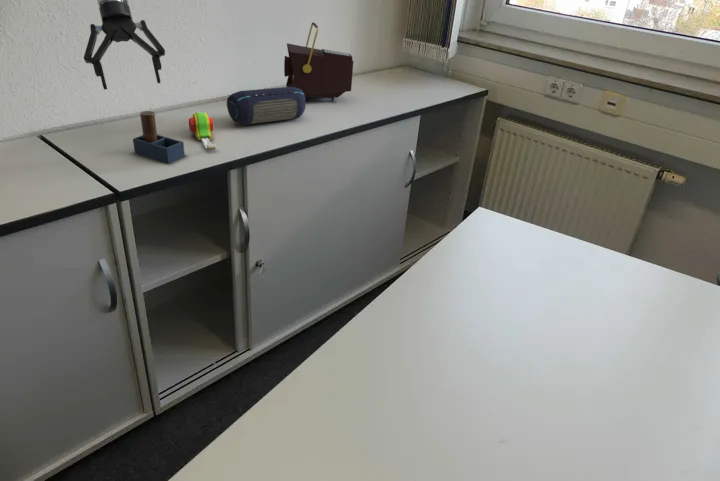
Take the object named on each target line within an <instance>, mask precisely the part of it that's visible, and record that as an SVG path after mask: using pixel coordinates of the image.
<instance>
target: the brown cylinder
mask: <svg viewBox="0 0 720 481" xmlns="http://www.w3.org/2000/svg"><path fill="white" fill-rule="evenodd" d="M139 114H140V115H139V116H140V122H141V123H140V124H141V129H142V135H143V138H144V141H146V142H149V143H151V142H154V141H156V140H158V139H157V135H158V132H157V123H156V115H155V112H154V111H151V110H143V111H140V112H139Z"/></svg>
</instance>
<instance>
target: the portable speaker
mask: <svg viewBox="0 0 720 481" xmlns="http://www.w3.org/2000/svg"><path fill="white" fill-rule="evenodd" d="M306 102H307V101H305V95H304V93H303V91H302V90H301V89H299V88H295V87H286V86H285V87H274V88H273V87H272V88H271V87H270V88H261V89H247V90H239V91H237V92H234V93H231V94H230V95H229V96H228V97H227V99H226V108H227V112H228V115H229V117H230V118H231V120H232V121H233V122H234V123H235V124H238V125H254V124H262V123H270V122H271V123H272V122H278V121H279V122H280V121H288V120H295V119H299V118H300V117H301V116H303V114H304V113H305V110H306V106H307V105H306Z"/></svg>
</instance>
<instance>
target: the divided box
mask: <svg viewBox="0 0 720 481" xmlns="http://www.w3.org/2000/svg"><path fill="white" fill-rule="evenodd" d="M157 139H158V140H156V141H154V142H151V143H149V142H146V141H144V138H143V134H142V135H139V136H136V137H133V138H132V142H133V149H134V154H135V155H137V156H142V157H145V158H148V159H151V160H155V161H157V162H161V163H164V164H168V165H169V164H171V163H173V162H176V161H179V160H180V159H182V158H184V157H185V146H184V141H181V140H178V139H174V138H171V137H168V136H165V135H161V134H157Z"/></svg>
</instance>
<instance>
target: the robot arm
mask: <svg viewBox="0 0 720 481" xmlns="http://www.w3.org/2000/svg"><path fill="white" fill-rule="evenodd" d="M96 1H97V6H98V11H99V14H100V19H101V23H102V24H101V25H95V23H91V24H89V29H90V34H89V38H88V40H87V41H88V42H87V45H86V48H85V51H84V55H83V60H84V62H85V63H86V64H90V65H92V66H93V70H94V75H95V76H96V77H100V80H101V84H102V88H103V90H108V86H107V82H106V78H105V74H104V69H103V65H102V62H101V60H102V58H103V57H104V55H105V53H106V51H107V50H108V48H110V46H111V45H112V43H113V42H116V43H121V42H129V41H130V40H131V41H132V42H133V43H135V44H137V45H138V46H139V47H140V48H142V49H143V50H144V51H146V53H148V54H149V55H150V56H151V62H152V66H153V69H154V70H153V71H154V74H155V78H156V82H157V84H161V77H160V72H159V71H161V70H162V62H161V57H164V56H166V50H165V48H164V47H163V46H162V45H161V43H160V41H159V40H158V39H157V38H156V36H155V35H154V34H153V33H152V31H151V30H150V29H149V27H148V26H147V23H146V20H144V19H141V20H140V21H138V22H135V21H134V20H133V16H132V12H131V8H130V5H129V0H96ZM137 29H138V30H139V31H140V32H143V34H144V35H145V37H146V38H147V39H148V41H149V42H150V43H151V44H152V46H153V47H154V48H153V47H152V46H151V45H150V44H149V43H148V42H146V41H145V40H144V39H142V38H141V37H140V36H139V35H138V34H137V33H136V32H135V31H136V30H137ZM101 32H103V33H104V35H105V36H104V39H103V40H102V42H101V43H100V45H99V47H98V48H97V50H96V51H95V52H94V50H95V46H96V43H97V40H98V36H99V35H100V33H101ZM93 54H94V55H93Z"/></svg>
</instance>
